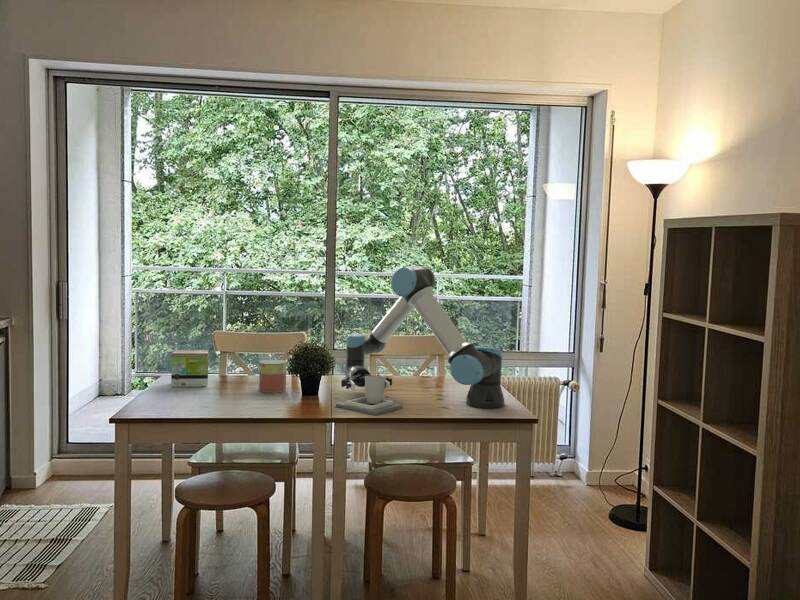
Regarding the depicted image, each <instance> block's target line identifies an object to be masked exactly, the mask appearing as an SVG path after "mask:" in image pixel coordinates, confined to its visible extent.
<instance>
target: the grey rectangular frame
mask: <svg viewBox="0 0 800 600" xmlns="http://www.w3.org/2000/svg"><path fill="white" fill-rule="evenodd" d="M336 406H337V408H340V407H342V408H341V409H345V408H346V409H345V410H349V409H351V410H350V411H354V410H356V411H355V412H358V411H359V412H360V413H364V414H369V415H373V416H378V415H382V414H385V413H388V412H389V411H390V412H392V410H393V411H397V410H400V409H403V404H399V403H396V402H395V403H394V400H390V399H384V398H382V400H381V403H380V404H371V403H367V399H366V395H365V396H361V397H358V398H354V399H348V400H344V401H341V402H337V403H335V407H336ZM399 408H400V409H399ZM396 409H397V410H396Z"/></svg>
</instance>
